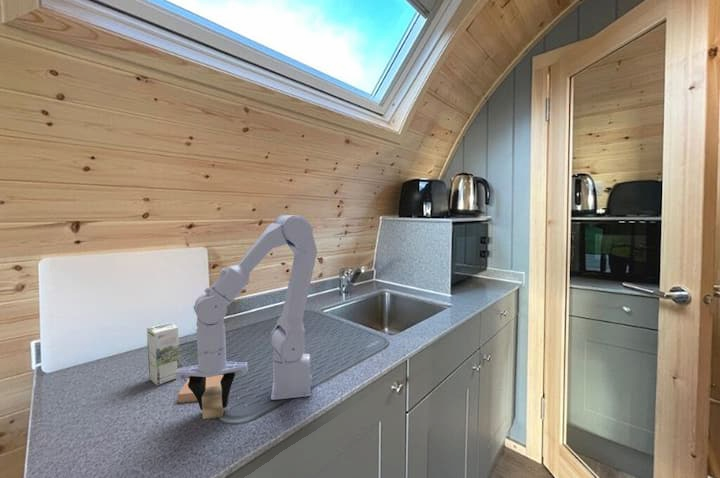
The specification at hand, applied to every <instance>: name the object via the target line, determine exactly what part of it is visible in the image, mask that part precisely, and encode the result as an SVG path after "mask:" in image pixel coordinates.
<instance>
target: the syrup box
mask: <svg viewBox="0 0 720 478" xmlns="http://www.w3.org/2000/svg"><path fill="white" fill-rule="evenodd" d="M146 338H147V356H148V357H147V358H148V359H147V360H148V373H149V374H148V375H149V376H148V377H149V380H150V381H151V382H153V384H155V385H156V386H157V387H158V386H161V385H164V384H166V383H169V382H171V381H174V380H176V371H177V370H178V369H179V368H181V367H180V366H181V365H180V344H179V343H180V342H179V328H178V327H177V325H175V324H174V323H172V322H166V323H163V324H158V325H154V326H150V327H147V328H146Z"/></svg>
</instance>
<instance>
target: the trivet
mask: <svg viewBox="0 0 720 478" xmlns="http://www.w3.org/2000/svg"><path fill="white" fill-rule="evenodd" d="M222 377H223V375H217V376H213V377H206V388H207V387H214V386H221V379H222ZM188 383H189V378H187V380H186V381H185V383H184V384H183V385H182V388H181V389H180V390H179V392H178V393H177V403H178V404H179V403H188V402H198V401H197V398H196V397H195V395H194V393H193V392H192V391H191V390H190V389H189V387H188Z"/></svg>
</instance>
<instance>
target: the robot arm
mask: <svg viewBox="0 0 720 478" xmlns="http://www.w3.org/2000/svg"><path fill="white" fill-rule="evenodd" d="M313 231H314V228H313V225H311V224H310V222H309V221H308V220H307V218H306V217H304V216H303V215H300V214H299V215H298V214H294V215H289V214H281V215H279V216H278V217H276V218H275V219H274V221H273V222H271V223H270V224H269V225H268V226H267V227H266V229H265V230H264V231H263V232H262V234H261V235H260V236H259V237H258V238H257V239H256V241H255V242H254V243H253V245H252V246H251V247H250V249H249V250H248V251H247V252H246V254H245V255H244V256H243V258H241V260H240V261H239V262H238V264H233V265H228V266H227V268H226V269H225V268H222V269H221V270H220V271H219V277H218V278H217V279H216V280H215V281H214V282H213V284H211V285H210V287H208V286H207V287H206V288H205V289H204V294H203V293H202V294H200V296H198V297H197V299H196V300H195V302H194V305H193V310H194V312H195V314H196V348H197V351H196V352H197V364H193V365H189V366H184V367H180V368H179V369H178V370H177V371H176V379H175V380H176V381H181V380H183V379H188V378H189V383H188V387H189V389H190V390H191V391H192V392H193V393H194V395H195V397H196V398H197V401H196V402H197V404H198V406H199V409H200V411H202V395H203V394H204V392H205V390H206V377H213V376H217V375H223V377H222V379H221V387H222V396H223V397H222V404H223V408H225V409H226V408H227V406H228V403H229V397H230V396H229V395H230V392H231V388H232V384H233V382H234V379H235V377H236V376H237V374H241V375H247V373H248V370H249V369H248V368H249V367H248V366H249V365H248V362H247V361H245V362H244V361H243V362H242V361H241V362H240V361H228V360H227V345H226V344H227V342H226V326H225V317H226V315H227V313H228V306H230V305H231V304H232V302H233V301H234V300H235V299H236V298H238V295H239V294H240V293H241V292H242V291H244V289H245V287H246V286H247V285H248V284H249V283H250V273H251V272H252V271H253V270H254V269H255V268H256V267H257V266H258V265H259V263H261V261H262V260H263V259H264V258H265V257H266V256H267V255H268V254H269V253H270V252H271V250H273V249H274V248H278V247H283V246H286V245H287V246H288V247H289V248H290V250H291V251H292V252H293V254H294V257H293V262H292V267H291V270H290V276H289V280H288V285H287V290H286V294H285V298H284V304H283V308H282V312H281V315H280V316H279V318H278V319H277V321H276V324H275V326H274V328H273V330H272V331H271V333H270V335H269V341H270V344H271V346H272V347H273V348H274V351H273V353H272V374H273V375H272V377H273V378H272V379H273V382H272V388H271V395H270V400H271V401H275V400H285V399H293V398H295V399H296V398H303V397H304V398H305V397H310V396H312V393H311V392H312V383H313V381H312V380H313V379H312V378H313V377H312V376H313V375H311V354H310V353H305V351H306V345H307V344H306V341H305V335H306V329H305V325H304V321H303V319H304V315H305V310H306V305H307V300H308V296H309V292H310V287H311V282H312V277H313V273H314V267H315V262H316V257H317V254H318V248H317V245H316V241H315V238H314V235H313Z"/></svg>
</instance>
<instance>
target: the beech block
mask: <svg viewBox="0 0 720 478" xmlns="http://www.w3.org/2000/svg"><path fill="white" fill-rule="evenodd" d="M222 397H223V396H222V387H221V386H214V387H207V388H206V390H205V392H204V394H203V395H202V410H201V412H202V413H201V414H202V420H206V419H211V418H212V419H213V418H215V419H216V418H222V417H223V415H224V413H225V411H226V408H223V404H222Z"/></svg>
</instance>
